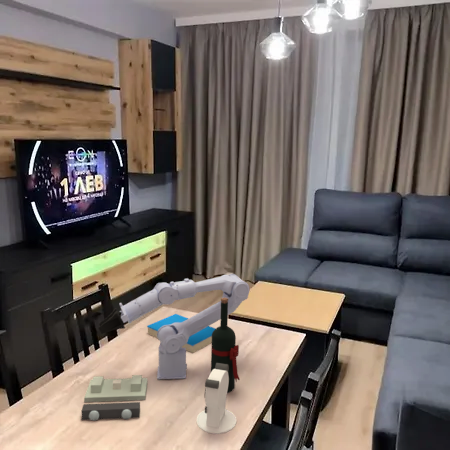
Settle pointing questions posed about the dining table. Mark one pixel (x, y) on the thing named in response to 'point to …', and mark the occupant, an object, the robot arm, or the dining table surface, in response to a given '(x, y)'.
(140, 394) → the stand
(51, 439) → the dining table surface
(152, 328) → the book
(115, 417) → the bar
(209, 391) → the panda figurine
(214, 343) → the wine bottle
